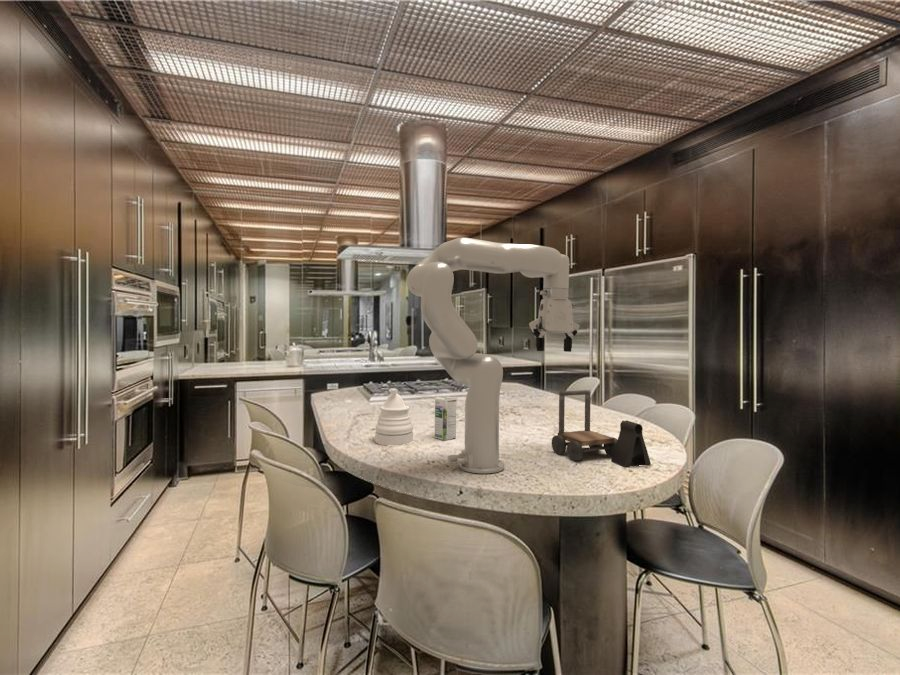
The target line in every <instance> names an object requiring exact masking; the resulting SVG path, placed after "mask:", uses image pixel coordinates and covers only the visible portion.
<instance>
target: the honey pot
mask: <svg viewBox="0 0 900 675" xmlns="http://www.w3.org/2000/svg"><path fill="white" fill-rule="evenodd" d="M389 392H390V394H389V396H388V397H386V399H385V401H384V403H383V405H381V406H380V407H379V408H380V414H379V415H378V419H377V423H376V425H375V432H374V433H375V440H374V441H375V444H377V443H378V445H380V444H382V445H381V446H386V445H399V446H404V445H403V444H406V445H408V444H407V443H410V442H412V441H413V442H414V426H413V425H414V424H413V423H412V420H411V419H412V418H411V416H410V414H409V412H408V411H409V410H410V406H409V405H406V403H405V401H404V400H403V398H402V396H401V395H400V394H399V393H398V389H397V388H395V389H394V388H392V389H391V388H390V389H389ZM413 442H412V443H413ZM410 444H411V443H410Z"/></svg>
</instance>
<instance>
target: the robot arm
mask: <svg viewBox="0 0 900 675" xmlns="http://www.w3.org/2000/svg"><path fill="white" fill-rule="evenodd" d="M460 270H466V271H467V270H468V271H474V272H484V273H491V274H510V273H519V272H520V274H521V275H522V276H524V277H526V278H532V279H534V278H543V289H542V290H540V291H539V296H540V295H541V296H542V299H541V300H540V303H539V304H540V305H539V308H538V318H536V319H535V320H532V321H530V322H529V323H528V326H529V328H530V330H531V333H532V334H533V336H534V338H535V339H536V340H535V348H536V352H544V351H545V337H544V336H545V334H546V333H562V334H563V336H564V337H565V338H563V351H564V352H565V353H566V352H572V348H573V340H574V338H575V336H576V335H577V334H578V331H579V328H580V327H581V326H580V324H579V323H577V322H576V321H574V313H573V305H572V301H571V299H569V287H570V286H569V285H570V284H569V283H570V278H569V277H570V258H569V256H568V255H566V254H562V253H560V251H559V250H557V249H556V248H554V247H550V246H544V245H538V244H524V243H522V244H521V243H520V244H519V243H508V242H507V243H505V242H504V243H503V242H495V241H489V240H483V239H477V238H470V237H457V238H454V239H452V240H448V241H446V242H443V243H442V244H440V245H438V246H437V247H436V248H435V249H434V250H433V251H432V252H430V253H429V254H428V255H427V256H426V257H424V258H423V259H422V260H420V262H419V263H417V264H416V265H415V266H414V267H412V268H411V269H410V271H409V272H408V274H407V278H406V284H407V285H406V286H407V288H408V290H409V291H410V293H411V294H413V295H414V296H416V297H421V298H420V311H421V316H422V318H423V321H424V322H425V324H426V325H427V327H428V328H429V330H430V331H431V334H430V335H429V340H428V345H429V348H430V352H431V353H432V355H433V356H434V358H435V359H436V360H437V361H438V362H439V364H440V365H441V366H442V367H443V369H444V370H445V371H446V373H447V374H448V375H449V376H450V377H451V378H452V379H453V381H455V382H457V383H458V384H460V385H464V386H467V387H468V390H467V393H466V396H465V401H464V402H465V403H464V449H461V451H460V453H458V454H449V455H448V456H447V461H448V463H456V464H458V468H460V469H461V470H462V471H464V472H468V473H473V474H483V475H484V474H495V473H499V472H501V471H503V470H504V469H505V463H504V462H503V461H502V460H500V458H499V456H500V453H499V452H500V445H499V444H500V396H501V395H500V394H501V389H502V383H503V376H504V369H503V366H502V364H501V362H500V360H499V359H498V358H496V357H495V356H493V355H491V354H486V353H479V352H478V353H476V352H477V350H478V347H479V343H478V340H477V337H476V336H475V334H474V332H473V331H472V330H471V328H470V327H469V326H468V324H466V322H465V321H464V319H463V318H462V317H461V316H460V315H459V313H458V311H457V310H456V308H455V306H454V304H453V301H452V293H453V292H452V291H453V287H454V281H455V278H454V276H455V275H454V273H453V272H455V271H460ZM536 326H537V327H536Z"/></svg>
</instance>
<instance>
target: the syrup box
mask: <svg viewBox="0 0 900 675" xmlns="http://www.w3.org/2000/svg"><path fill="white" fill-rule="evenodd" d="M457 402H458V401H457V397H451V396H438V397H437V396H436V397H435V398H434V430H433V431H434V432H433V433H434V437H433V438H434V439H437V438H438V440H441V441H444V440H445V441H449V440H448V439H450V440H454V439H453V438H455V439H456V438H457Z"/></svg>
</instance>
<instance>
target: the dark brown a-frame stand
mask: <svg viewBox="0 0 900 675" xmlns="http://www.w3.org/2000/svg"><path fill="white" fill-rule="evenodd" d="M619 425H620V426H619V427H620V431H619V434H618V438H617V443H616V447H615V450H614V453H613V456H612V457H611V463H614V464H616V463H617V464H616V465H618V464H619V465H618V466H621V467H623V466H624V468H625V467H626V468H631V467H630V466H636V467H640V466H639V465H647V466H651V465H652V464H651V460H650V457H649V453H648V449H647V446H646V445H647V444H646V442H645V439H644V436H643V431H644V430H643V426H642V424H640V423H637V422H633V421H629V420H626V419H625V420H622V421H621V422H620V424H619Z"/></svg>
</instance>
